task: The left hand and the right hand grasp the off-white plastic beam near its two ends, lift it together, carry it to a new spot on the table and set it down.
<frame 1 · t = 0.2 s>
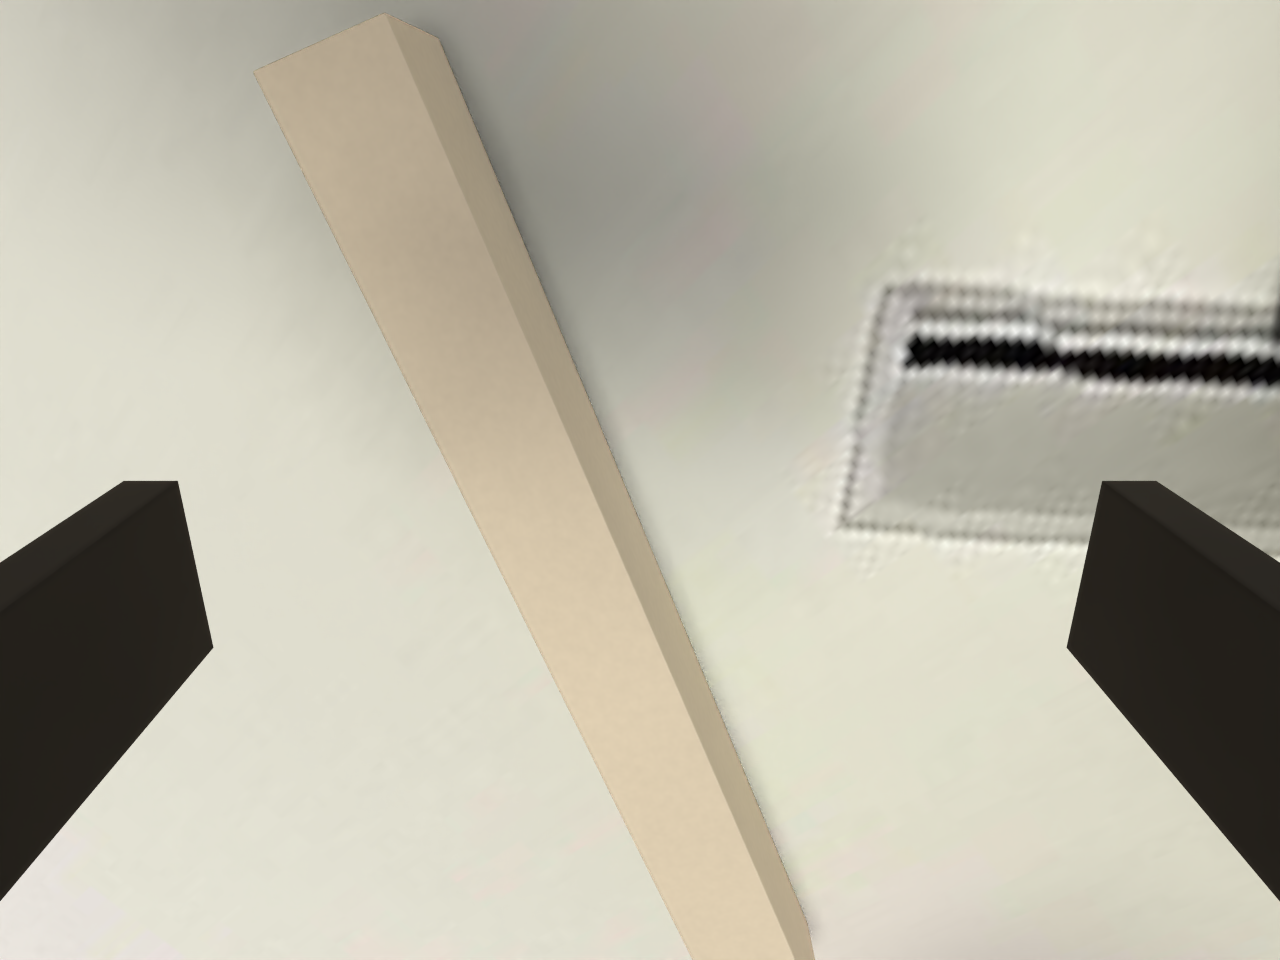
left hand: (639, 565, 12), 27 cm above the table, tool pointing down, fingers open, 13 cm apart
beam: (617, 587, 43), on the table
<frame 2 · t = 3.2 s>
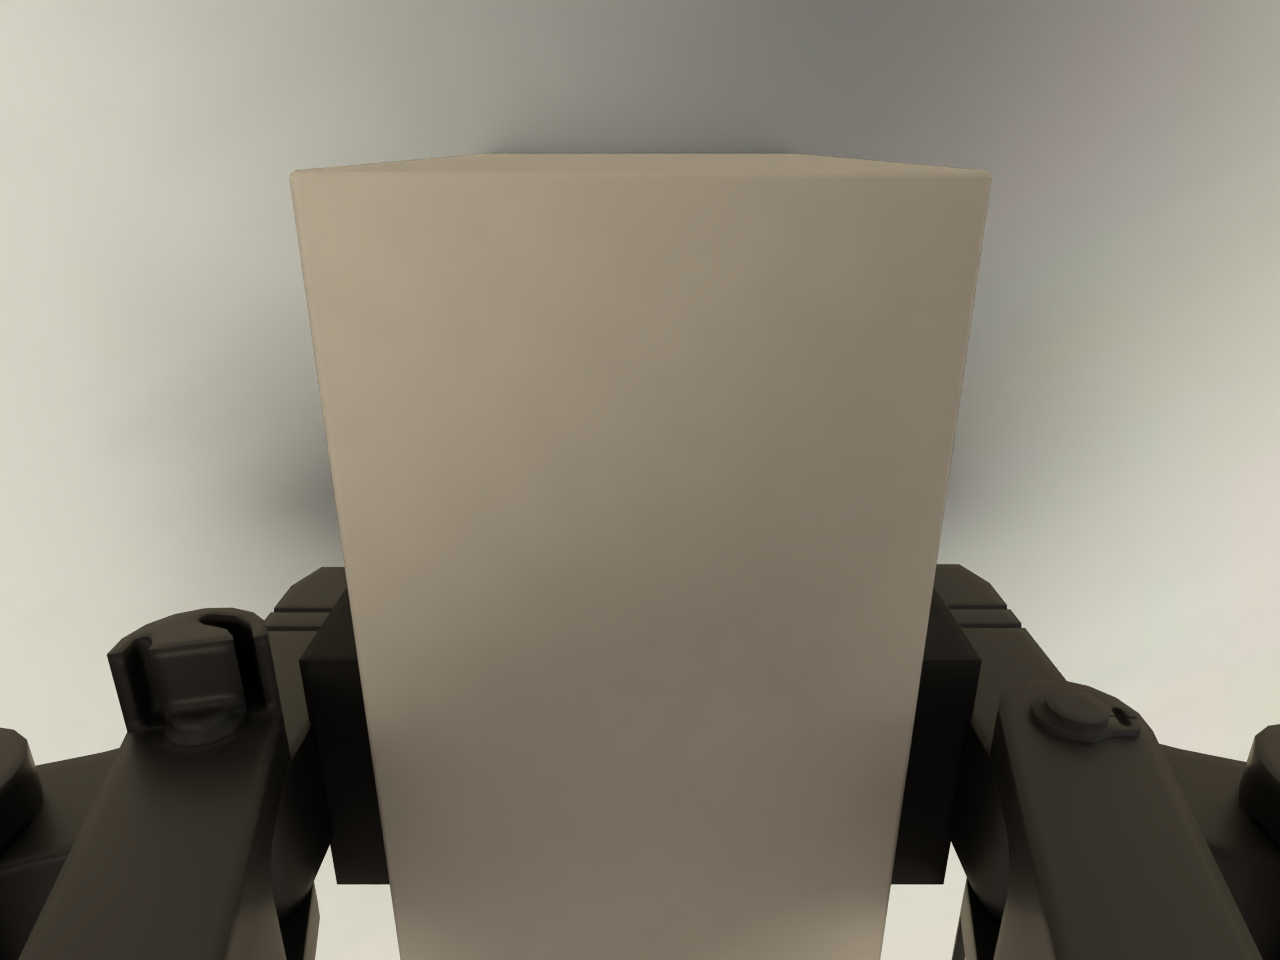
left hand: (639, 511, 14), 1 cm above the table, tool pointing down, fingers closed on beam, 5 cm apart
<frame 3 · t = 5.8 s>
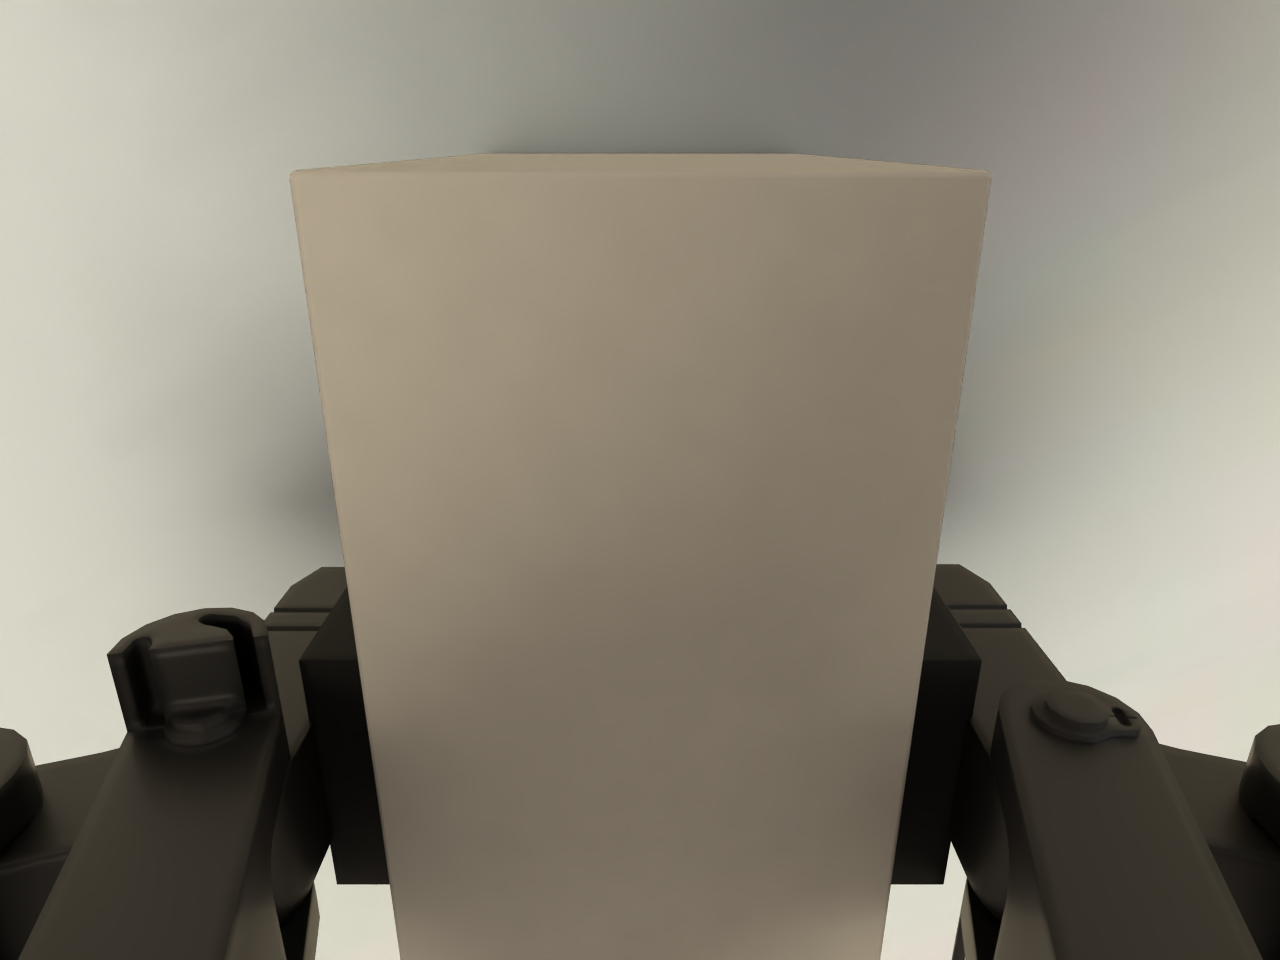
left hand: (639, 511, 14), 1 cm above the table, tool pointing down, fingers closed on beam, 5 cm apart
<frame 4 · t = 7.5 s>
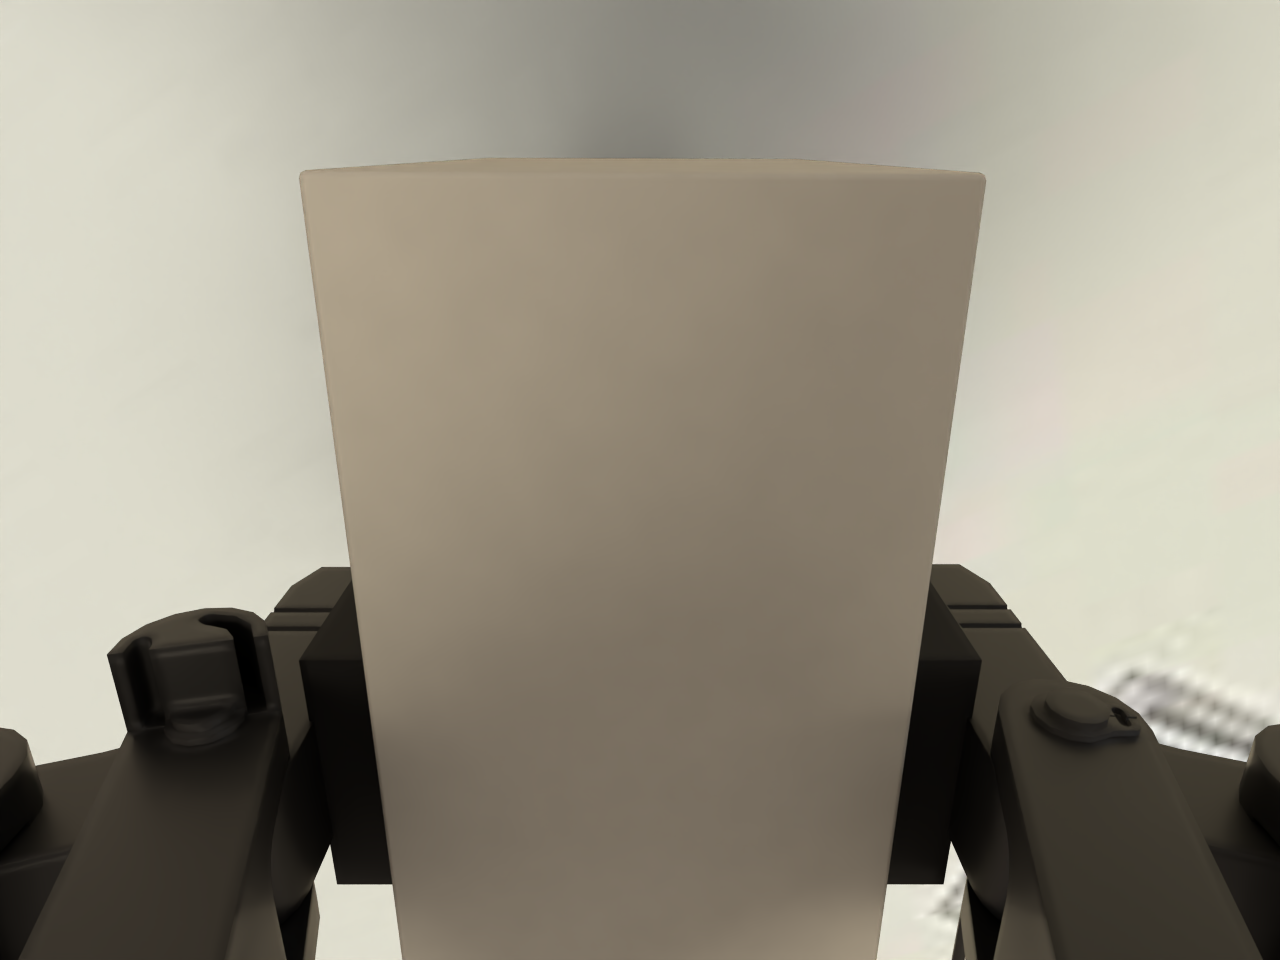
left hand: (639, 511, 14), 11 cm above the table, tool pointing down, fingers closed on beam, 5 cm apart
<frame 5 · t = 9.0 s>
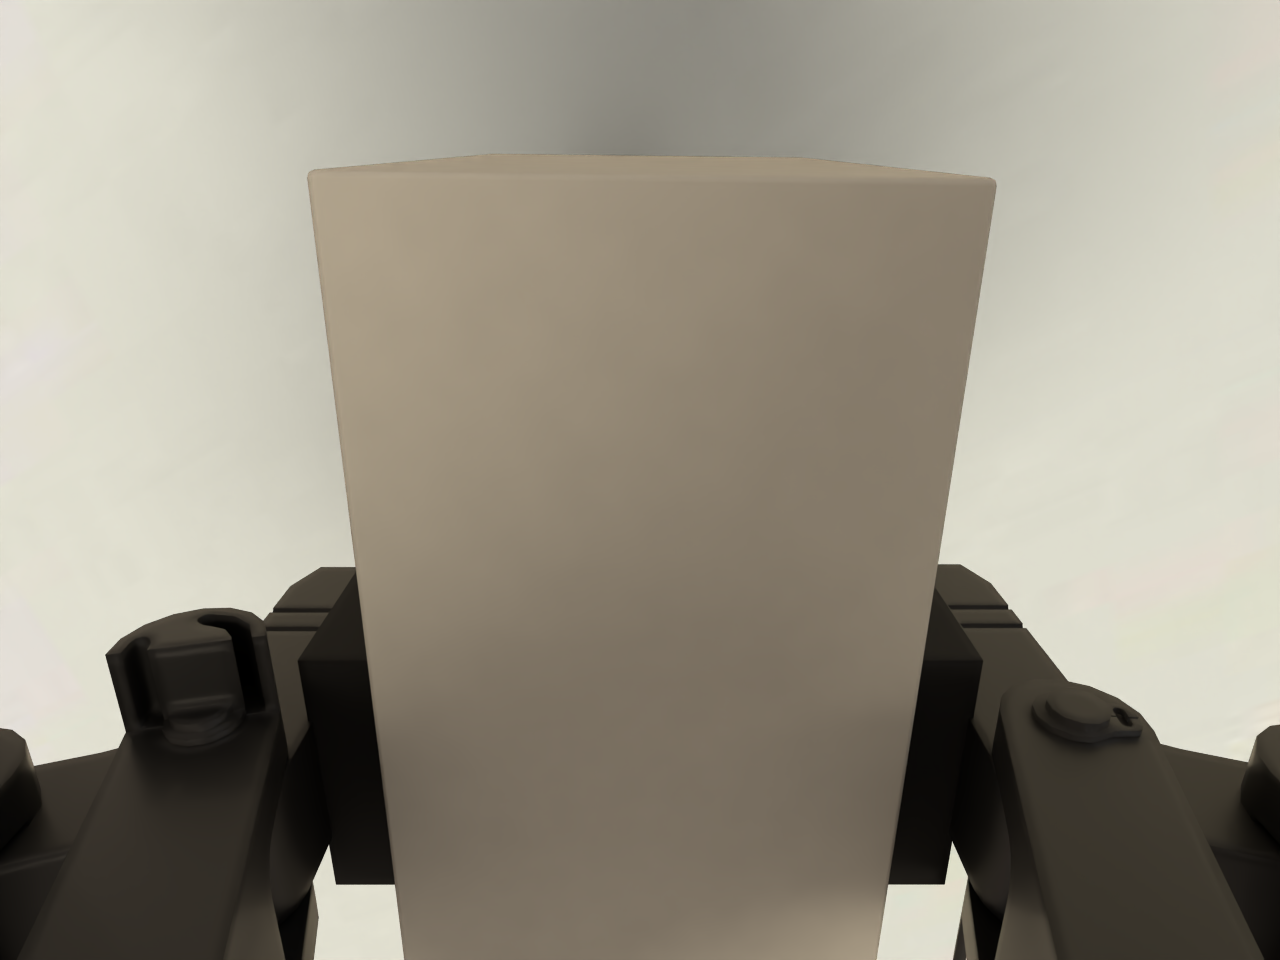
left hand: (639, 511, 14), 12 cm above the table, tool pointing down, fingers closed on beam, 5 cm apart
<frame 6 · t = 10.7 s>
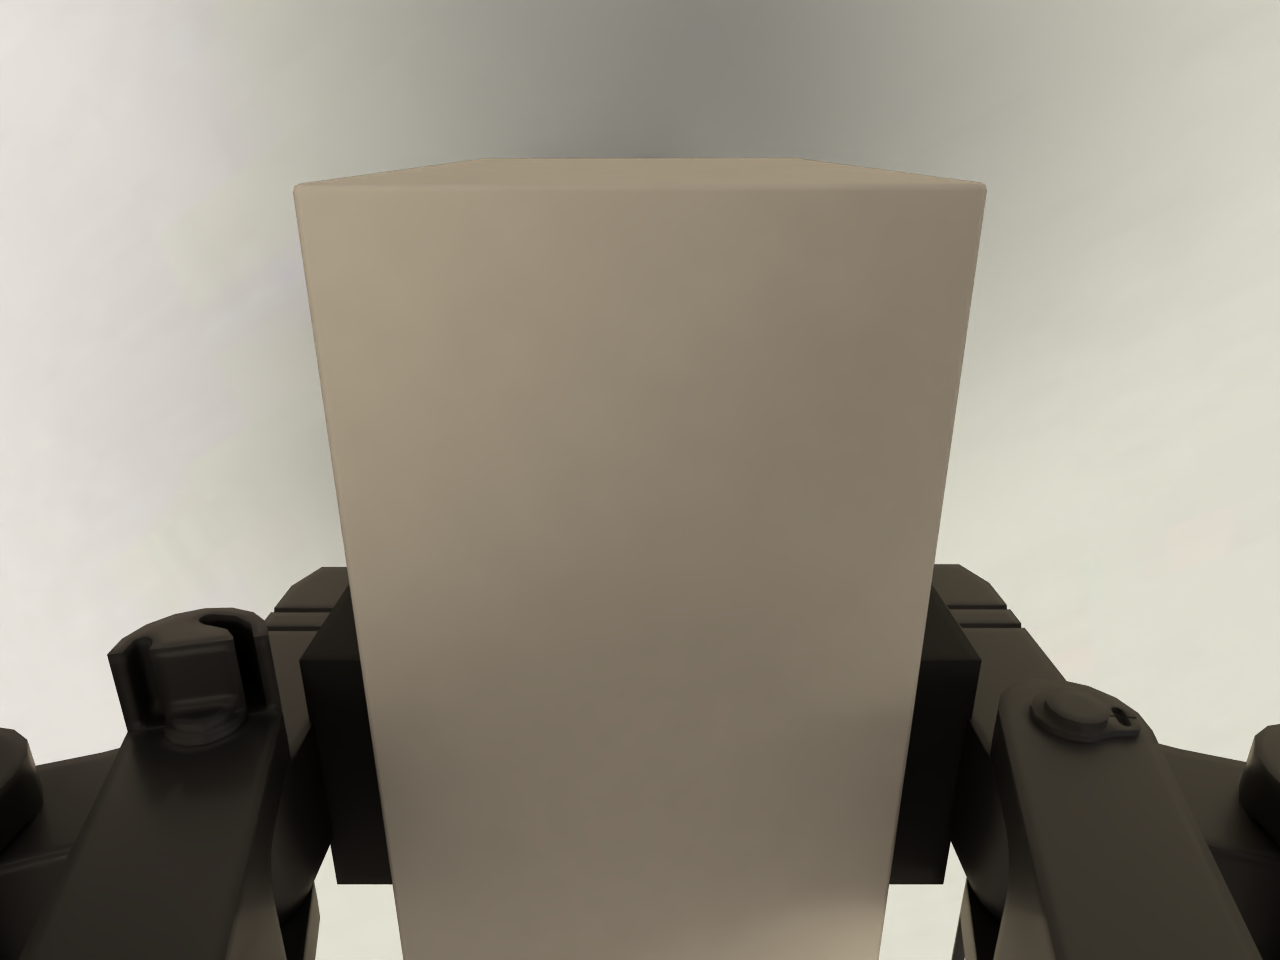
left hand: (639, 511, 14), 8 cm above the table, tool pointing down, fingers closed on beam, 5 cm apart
when the left hand's fingers open (2 cm above the table, at t = 11.8 s): beam drops 1 cm, on the table.
when the right hand's fingers open (5 cm above the table, at t = 12.0 s): beam stays where it is, on the table.
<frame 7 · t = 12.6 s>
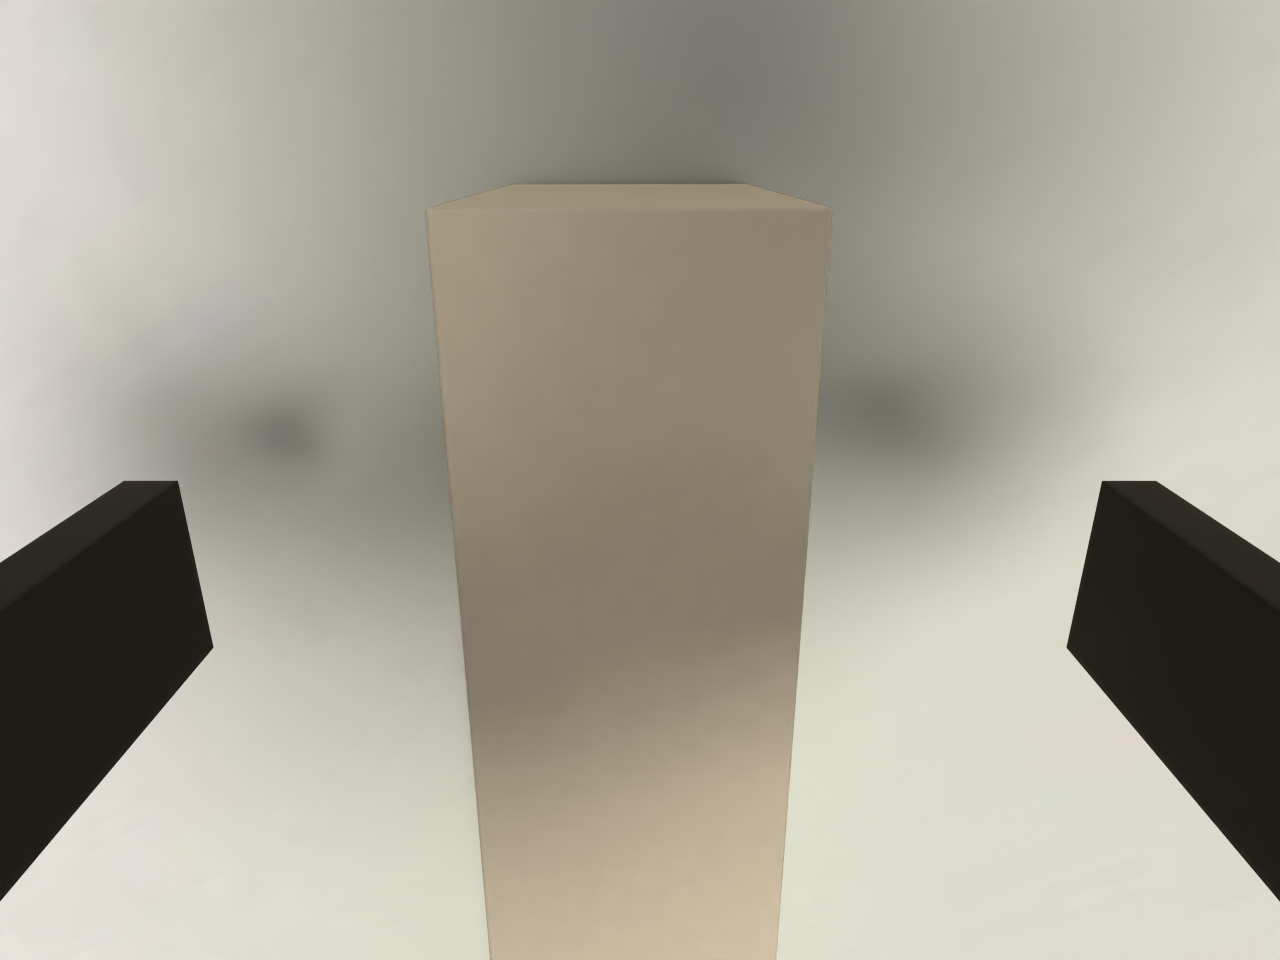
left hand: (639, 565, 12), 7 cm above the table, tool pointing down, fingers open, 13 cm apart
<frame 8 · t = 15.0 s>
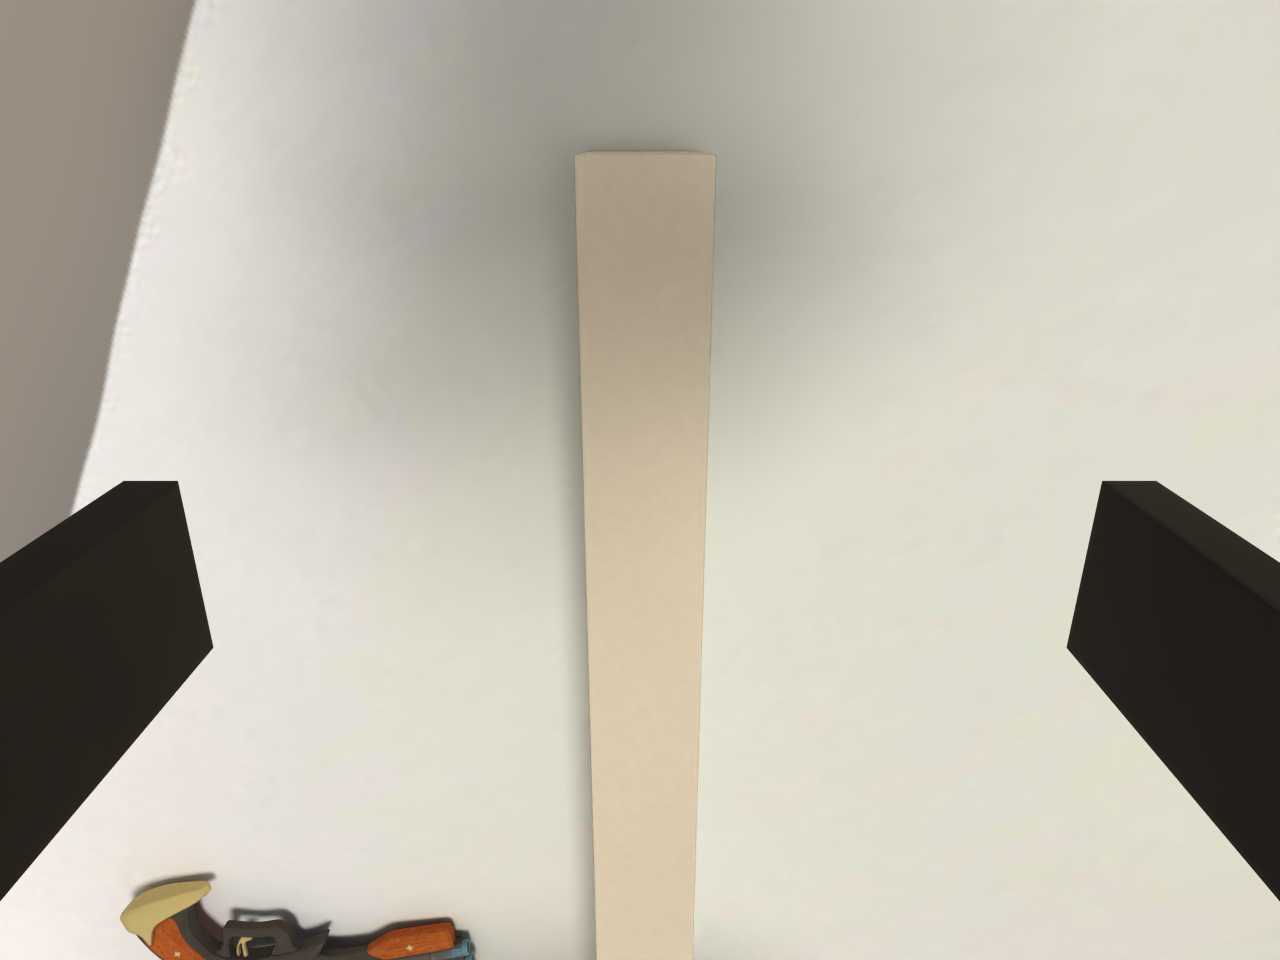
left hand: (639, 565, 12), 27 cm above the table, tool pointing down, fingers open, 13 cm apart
beam: (644, 670, 45), on the table
toy gun: (310, 924, 52), on the table
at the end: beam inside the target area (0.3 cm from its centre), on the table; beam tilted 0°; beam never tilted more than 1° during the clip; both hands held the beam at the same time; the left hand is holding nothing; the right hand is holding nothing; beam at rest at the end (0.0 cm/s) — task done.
